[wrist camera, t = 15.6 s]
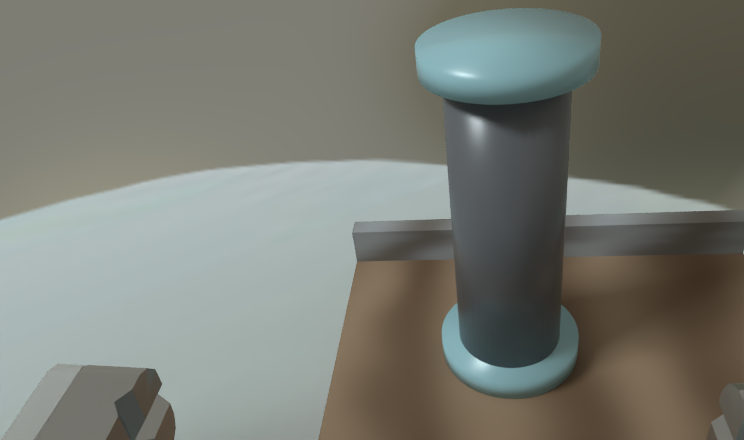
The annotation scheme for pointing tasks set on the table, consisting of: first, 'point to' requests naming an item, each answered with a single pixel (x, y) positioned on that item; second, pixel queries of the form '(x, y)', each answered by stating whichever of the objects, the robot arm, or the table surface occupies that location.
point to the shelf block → (593, 319)
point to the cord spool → (509, 189)
